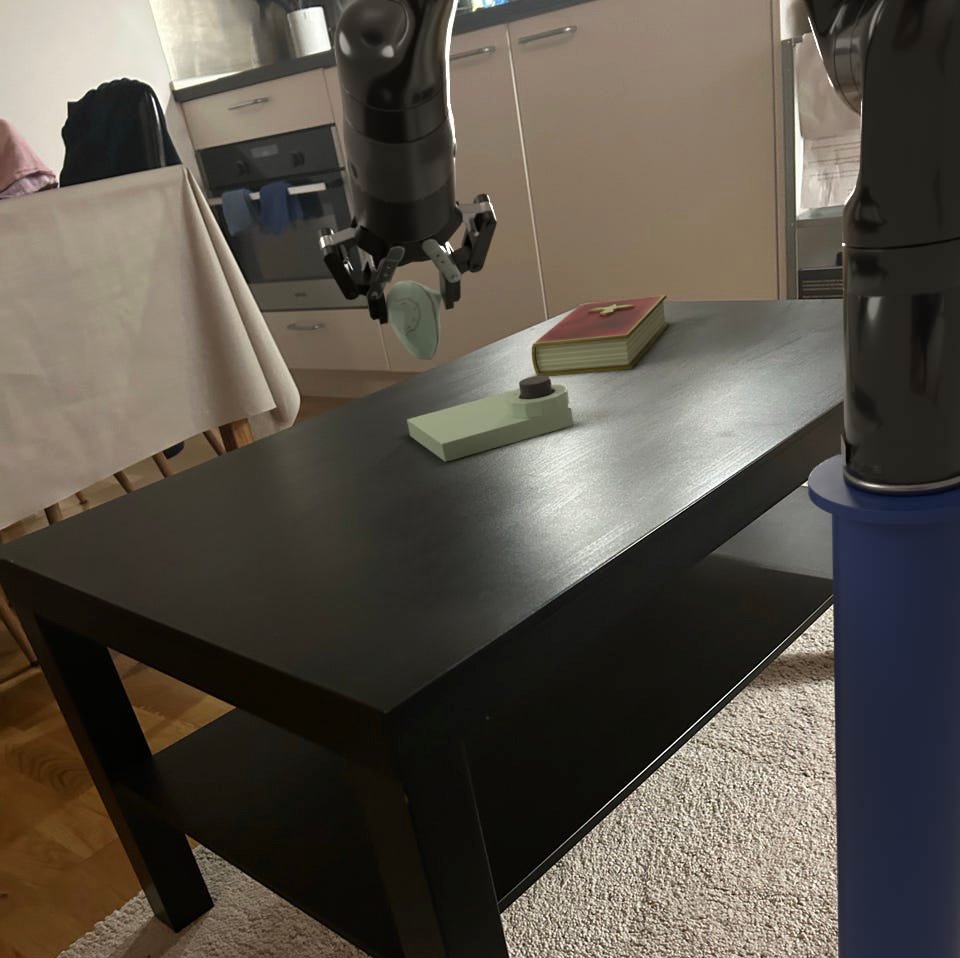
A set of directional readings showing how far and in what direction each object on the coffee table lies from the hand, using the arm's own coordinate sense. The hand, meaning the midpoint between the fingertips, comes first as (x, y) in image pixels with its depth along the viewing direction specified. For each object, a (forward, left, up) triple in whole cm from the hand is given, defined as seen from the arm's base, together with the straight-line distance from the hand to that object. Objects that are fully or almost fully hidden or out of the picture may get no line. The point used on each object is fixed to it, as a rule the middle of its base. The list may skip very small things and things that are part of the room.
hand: (414, 307), depth 86 cm
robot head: (0, +2, -4) cm, 5 cm away
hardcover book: (-32, -32, -16) cm, 49 cm away
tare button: (-13, -9, -13) cm, 20 cm away
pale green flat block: (-9, -12, -16) cm, 22 cm away
